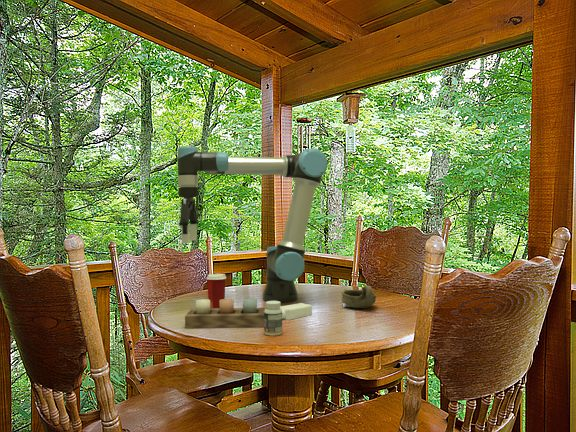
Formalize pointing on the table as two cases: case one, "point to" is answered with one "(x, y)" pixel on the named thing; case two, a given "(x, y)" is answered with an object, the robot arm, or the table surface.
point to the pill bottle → (273, 318)
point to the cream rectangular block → (296, 311)
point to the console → (225, 319)
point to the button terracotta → (226, 306)
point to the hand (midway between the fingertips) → (189, 241)
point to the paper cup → (216, 289)
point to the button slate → (249, 305)
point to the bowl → (359, 297)
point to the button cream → (203, 306)
